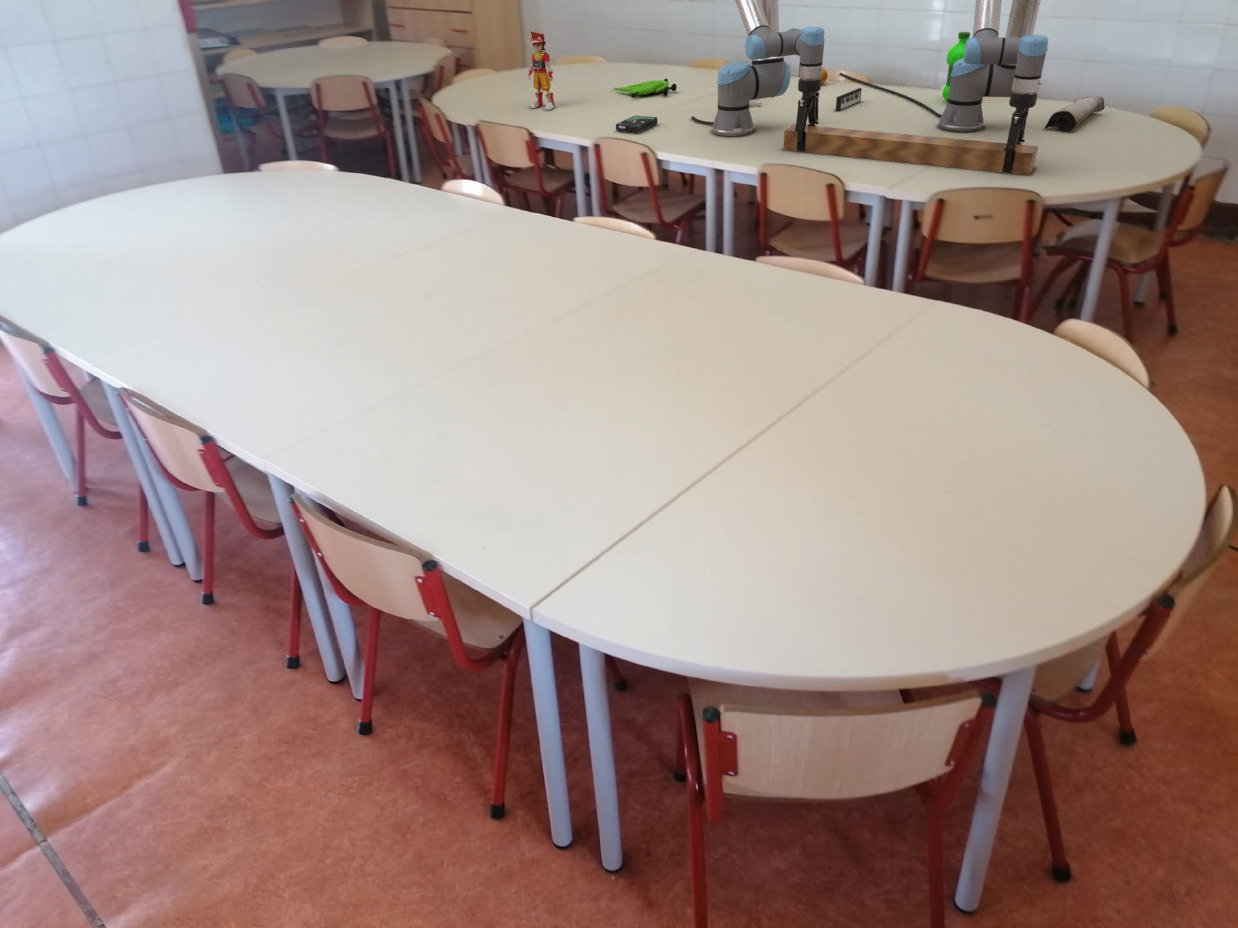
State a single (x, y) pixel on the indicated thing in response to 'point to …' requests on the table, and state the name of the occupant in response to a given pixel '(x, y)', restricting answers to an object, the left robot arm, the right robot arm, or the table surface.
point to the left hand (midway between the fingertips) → (805, 147)
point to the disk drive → (636, 124)
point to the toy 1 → (541, 71)
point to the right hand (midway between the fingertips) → (1009, 167)
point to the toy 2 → (648, 88)
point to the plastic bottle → (955, 59)
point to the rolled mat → (1075, 113)
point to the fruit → (823, 76)
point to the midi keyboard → (848, 99)
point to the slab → (912, 149)
